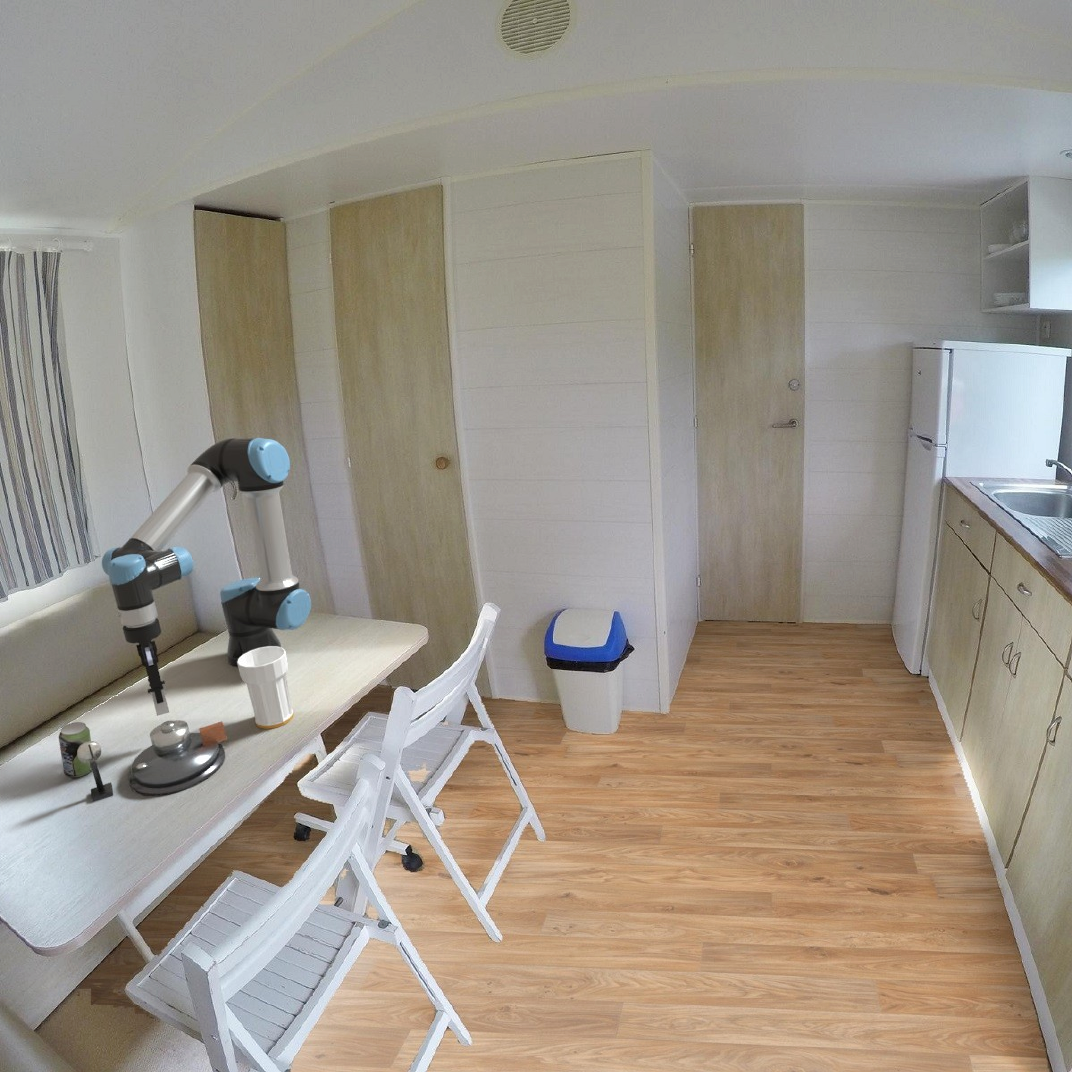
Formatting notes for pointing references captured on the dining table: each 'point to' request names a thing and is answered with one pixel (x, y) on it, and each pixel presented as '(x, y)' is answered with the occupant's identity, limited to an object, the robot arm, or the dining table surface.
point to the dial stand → (94, 769)
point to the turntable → (179, 760)
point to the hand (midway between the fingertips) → (162, 712)
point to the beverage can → (74, 748)
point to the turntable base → (180, 786)
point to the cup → (267, 685)
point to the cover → (170, 737)
